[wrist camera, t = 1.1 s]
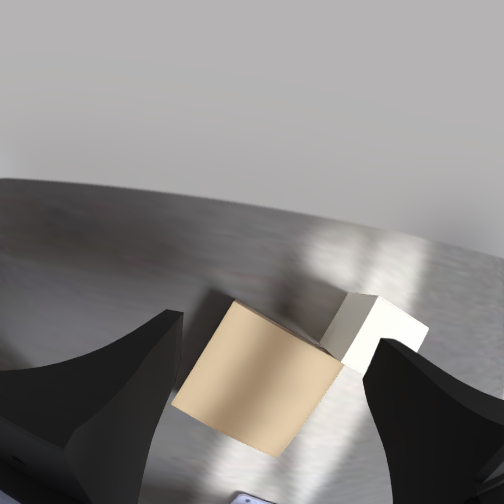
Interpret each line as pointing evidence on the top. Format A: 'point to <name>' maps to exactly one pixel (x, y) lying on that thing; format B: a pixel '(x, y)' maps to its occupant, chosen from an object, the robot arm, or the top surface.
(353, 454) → the top surface
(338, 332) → the white block
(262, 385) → the oak block
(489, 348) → the top surface
